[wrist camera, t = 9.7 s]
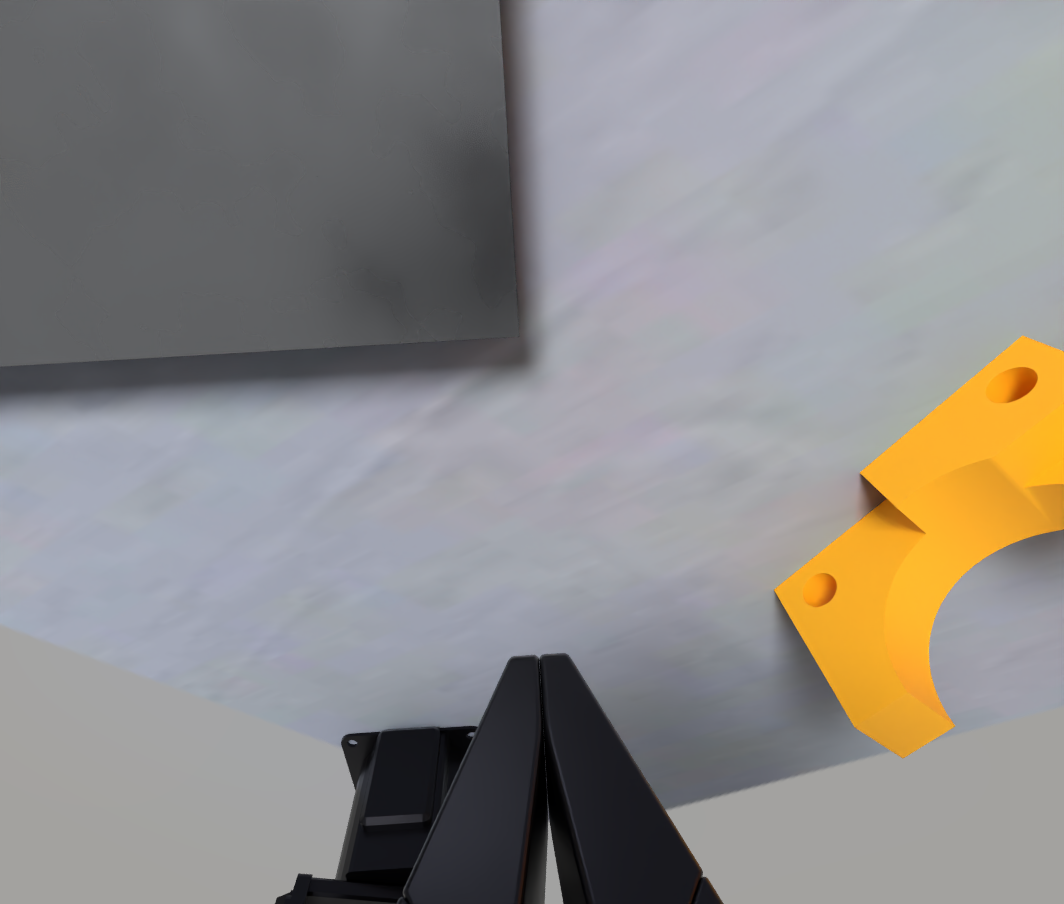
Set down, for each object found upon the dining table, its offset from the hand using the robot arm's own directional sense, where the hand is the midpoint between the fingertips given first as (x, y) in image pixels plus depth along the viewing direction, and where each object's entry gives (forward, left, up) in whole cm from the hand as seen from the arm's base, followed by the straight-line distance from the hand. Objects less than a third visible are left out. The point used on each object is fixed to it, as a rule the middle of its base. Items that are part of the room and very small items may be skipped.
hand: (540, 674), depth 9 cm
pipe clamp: (-6, -14, -12) cm, 19 cm away
